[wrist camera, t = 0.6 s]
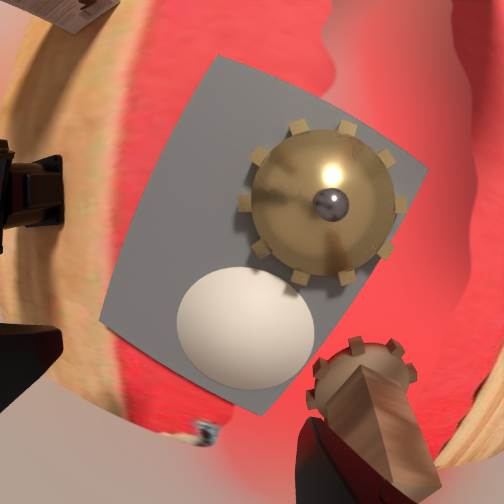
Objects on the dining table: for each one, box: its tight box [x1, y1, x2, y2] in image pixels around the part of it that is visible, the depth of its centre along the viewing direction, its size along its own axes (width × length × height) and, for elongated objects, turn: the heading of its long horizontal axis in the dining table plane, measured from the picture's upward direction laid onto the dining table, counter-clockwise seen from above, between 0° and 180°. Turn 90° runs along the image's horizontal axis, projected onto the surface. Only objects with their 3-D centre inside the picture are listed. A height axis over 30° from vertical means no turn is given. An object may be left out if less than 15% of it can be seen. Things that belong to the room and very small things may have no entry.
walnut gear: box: [306, 336, 442, 503], centre depth 15 cm, size 9×9×12 cm
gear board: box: [99, 55, 429, 416], centre depth 19 cm, size 16×23×2 cm
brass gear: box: [238, 119, 407, 286], centre depth 15 cm, size 10×10×4 cm
